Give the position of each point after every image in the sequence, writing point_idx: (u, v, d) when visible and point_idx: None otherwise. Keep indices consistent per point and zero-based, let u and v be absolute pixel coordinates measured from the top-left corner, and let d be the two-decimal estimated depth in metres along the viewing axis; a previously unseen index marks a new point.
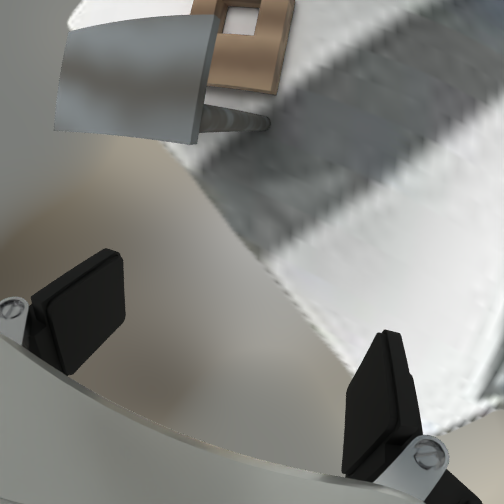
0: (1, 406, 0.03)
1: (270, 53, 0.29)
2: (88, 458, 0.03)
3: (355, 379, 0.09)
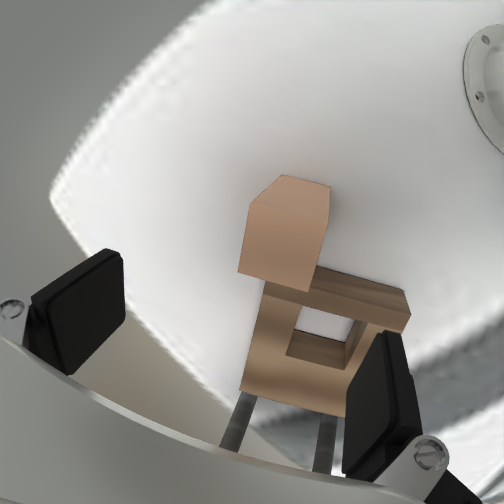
0: (1, 406, 0.03)
1: None
2: (88, 458, 0.03)
3: (355, 380, 0.09)
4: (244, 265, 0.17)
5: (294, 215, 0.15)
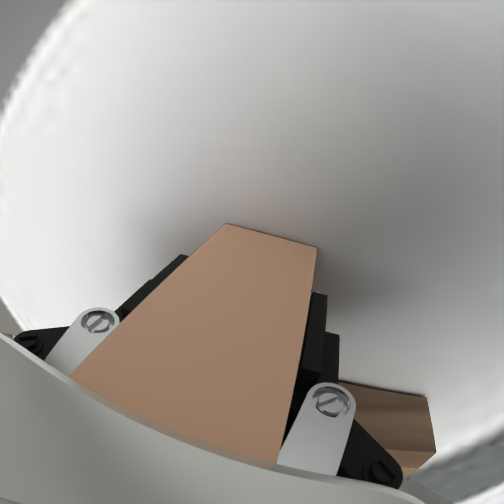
0: (1, 406, 0.03)
1: None
2: (88, 458, 0.03)
3: None
4: None
5: None
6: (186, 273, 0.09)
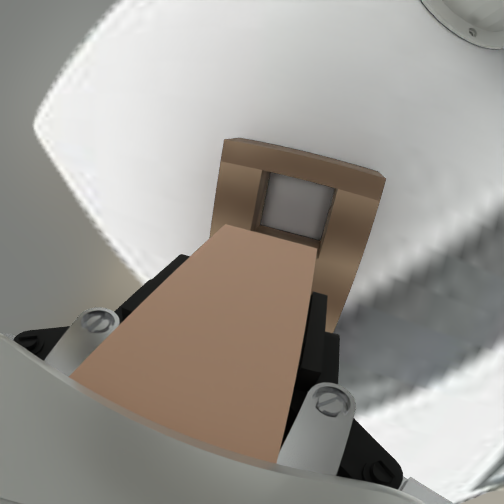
0: (1, 406, 0.03)
1: (339, 289, 0.24)
2: (88, 458, 0.03)
3: None
4: None
5: None
6: (186, 274, 0.09)
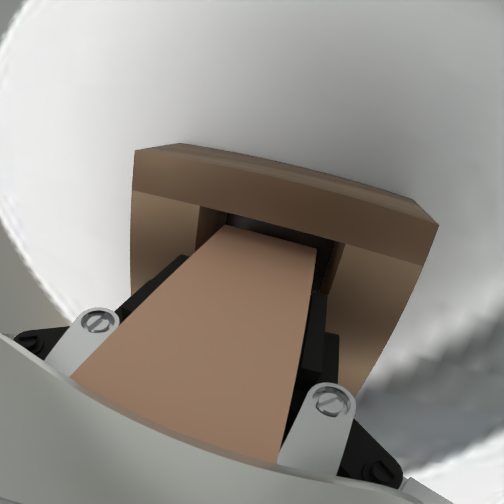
0: (1, 406, 0.03)
1: None
2: (88, 458, 0.03)
3: None
4: None
5: None
6: (186, 274, 0.09)
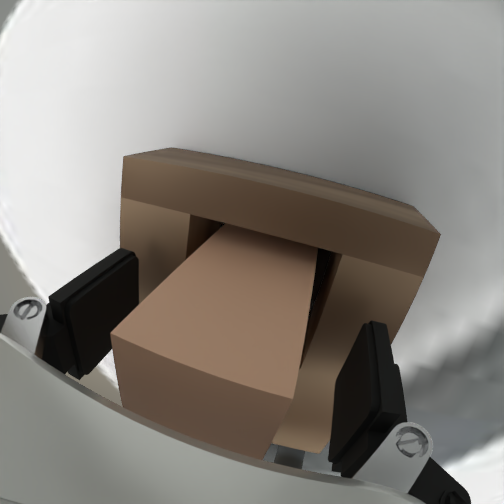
0: (1, 406, 0.03)
1: None
2: (88, 458, 0.03)
3: (343, 370, 0.10)
4: None
5: (208, 375, 0.06)
6: (211, 247, 0.11)
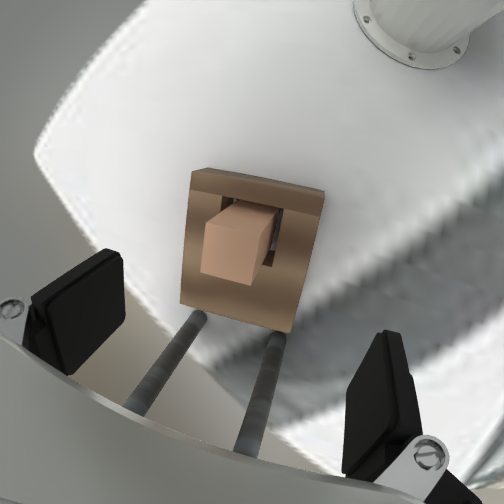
0: (1, 406, 0.03)
1: (292, 292, 0.29)
2: (88, 458, 0.03)
3: (355, 379, 0.09)
4: (204, 266, 0.23)
5: (236, 230, 0.22)
6: (231, 208, 0.27)
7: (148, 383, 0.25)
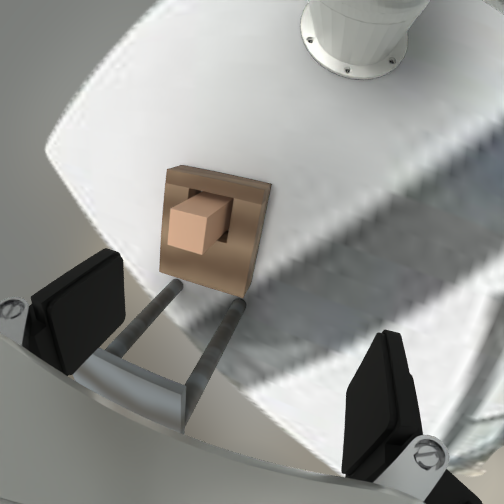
0: (1, 406, 0.03)
1: (242, 264, 0.37)
2: (88, 458, 0.03)
3: (355, 379, 0.09)
4: (170, 240, 0.31)
5: (191, 214, 0.30)
6: (195, 197, 0.35)
7: (129, 330, 0.33)
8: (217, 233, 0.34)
